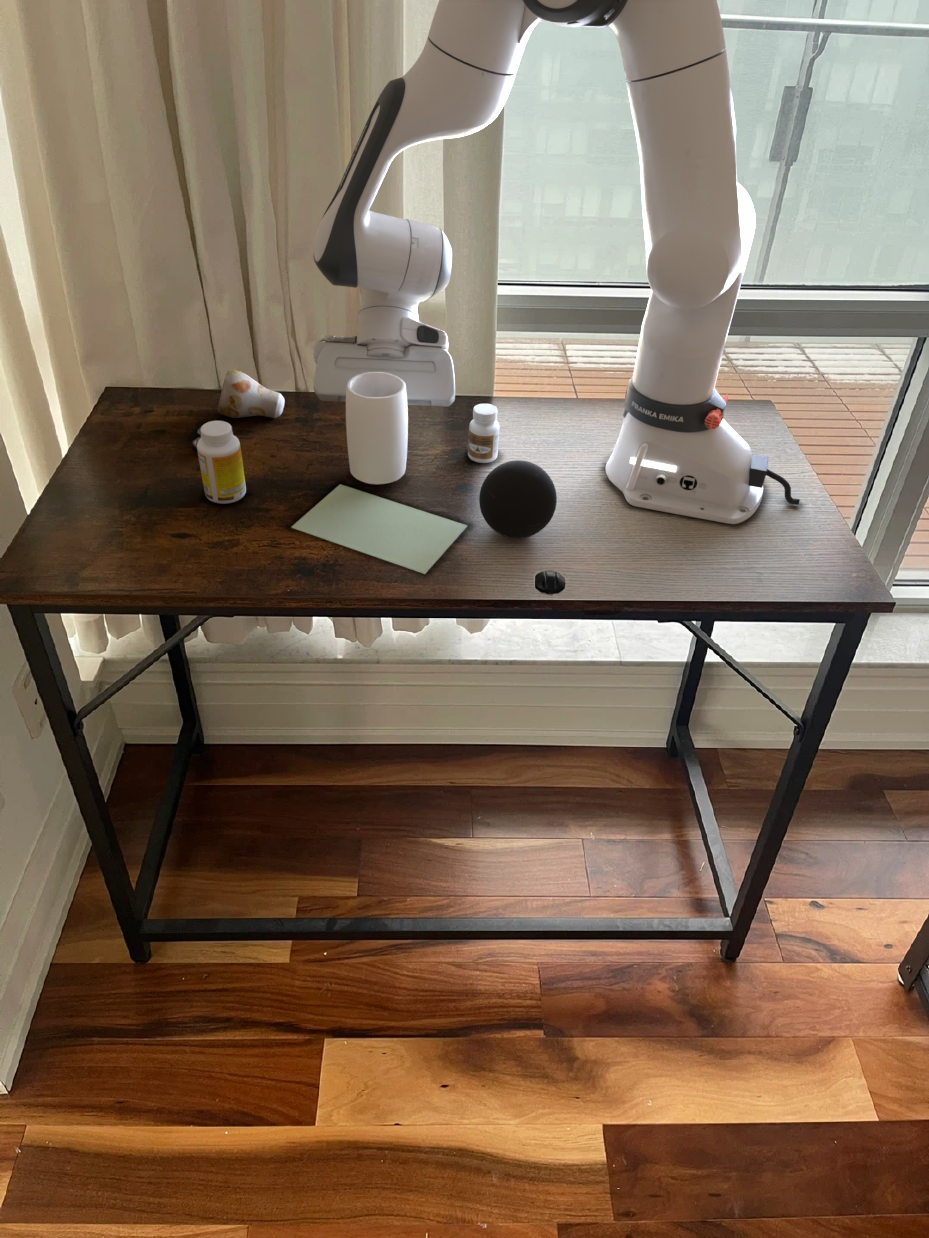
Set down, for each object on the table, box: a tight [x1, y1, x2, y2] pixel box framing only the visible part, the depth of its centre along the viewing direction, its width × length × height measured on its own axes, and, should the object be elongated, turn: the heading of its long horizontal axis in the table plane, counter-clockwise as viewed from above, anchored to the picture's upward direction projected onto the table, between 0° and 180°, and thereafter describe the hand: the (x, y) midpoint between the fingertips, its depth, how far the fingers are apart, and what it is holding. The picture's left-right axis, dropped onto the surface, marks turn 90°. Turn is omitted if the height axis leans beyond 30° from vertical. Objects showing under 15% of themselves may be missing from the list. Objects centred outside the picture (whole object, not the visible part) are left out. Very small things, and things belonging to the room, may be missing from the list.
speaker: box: [478, 459, 558, 539], centre depth 121 cm, size 10×10×10 cm
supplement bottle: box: [196, 420, 247, 505], centre depth 124 cm, size 6×6×10 cm
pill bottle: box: [467, 403, 500, 464], centre depth 136 cm, size 4×4×8 cm
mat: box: [290, 484, 468, 575], centre depth 123 cm, size 20×12×1 cm, turn 63°
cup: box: [345, 372, 409, 485], centre depth 128 cm, size 8×8×14 cm
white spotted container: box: [217, 369, 286, 419], centre depth 142 cm, size 8×10×10 cm
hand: (383, 432), depth 133 cm, fingers closed, pressing on cup
